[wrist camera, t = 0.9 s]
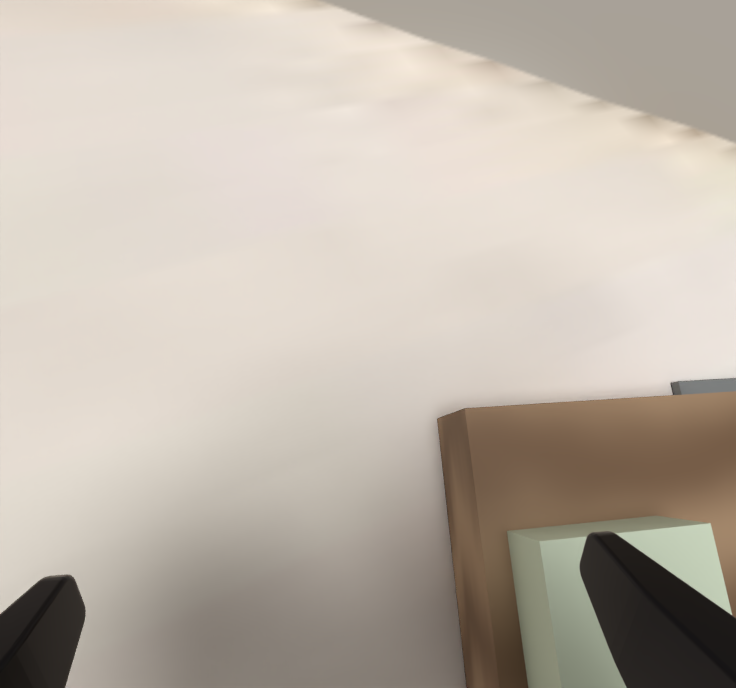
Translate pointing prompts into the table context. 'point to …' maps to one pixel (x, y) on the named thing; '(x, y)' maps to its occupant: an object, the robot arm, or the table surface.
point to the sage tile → (571, 601)
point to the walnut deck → (574, 494)
